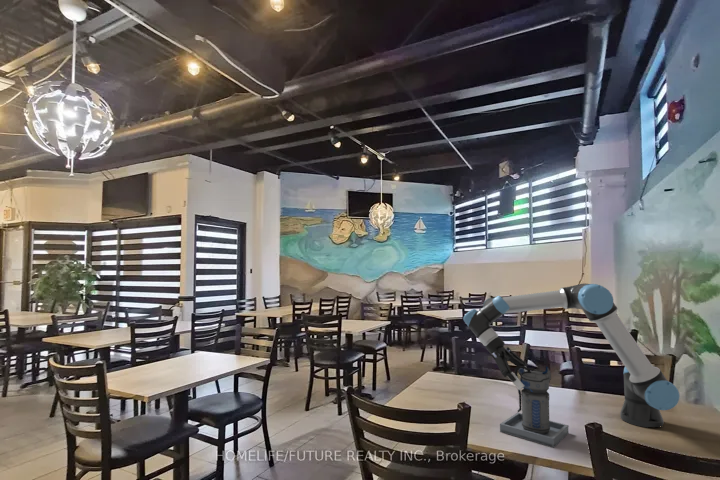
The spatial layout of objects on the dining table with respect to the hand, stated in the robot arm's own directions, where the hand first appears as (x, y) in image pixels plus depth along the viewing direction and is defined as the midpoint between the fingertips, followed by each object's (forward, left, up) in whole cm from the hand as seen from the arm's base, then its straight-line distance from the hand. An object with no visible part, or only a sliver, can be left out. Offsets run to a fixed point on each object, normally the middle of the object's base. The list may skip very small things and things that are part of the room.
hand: (528, 384), depth 160 cm
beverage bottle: (-2, 0, -17) cm, 17 cm away
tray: (-2, 0, -18) cm, 18 cm away
